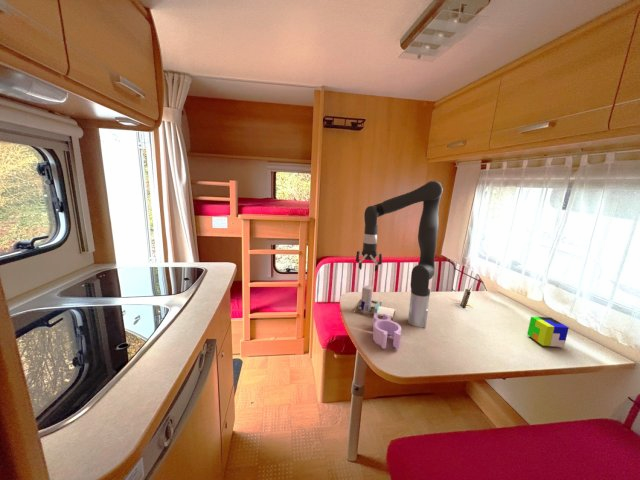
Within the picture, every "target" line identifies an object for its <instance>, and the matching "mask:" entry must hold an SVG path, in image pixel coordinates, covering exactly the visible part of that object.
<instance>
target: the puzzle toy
mask: <svg viewBox="0 0 640 480" xmlns="http://www.w3.org/2000/svg"><path fill="white" fill-rule="evenodd" d="M528 325H529V326H528V329H527V333H526V334H527V336H529V337H530V338H532V339H533V340H534V341H536V342H537V343H538V344H539V345H541V346H544V347H559V348H564V347H565V345H566V340H567V335H568V333H569V329H570V328H569V326H567V325H565V324H563V323H561V322H560V321H558V320H556V319H554V318H553V317H549V316H548V317H545V316H530V320H529V324H528Z"/></svg>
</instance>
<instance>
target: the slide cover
mask: <svg viewBox="0 0 640 480" xmlns="http://www.w3.org/2000/svg"><path fill="white" fill-rule="evenodd" d="M380 302H381V301H378V302H377V304H376V303H375V306H374V307H375V310H374V314H378V315H380V316H383V314H386V315H388V316H390V318H393V314H394V311H396V310H395V308H390V307H386V306H382V305H381V306H380Z"/></svg>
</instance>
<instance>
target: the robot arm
mask: <svg viewBox="0 0 640 480" xmlns="http://www.w3.org/2000/svg"><path fill="white" fill-rule="evenodd" d="M443 191H444V188H443V185H442V183H441V182H439V181H436V180H430V181H428V182H426V183H425V184H423V185H422V186H420V187H418V188H416V189H413V190H412V191H409V192H406V193H403V194H400V195H398V196H394V197H392V198H389V199H386V200H384V201H382V202H380V203H377V204H373V205H369V206H367V207H366V208H365V210H364V214H363V215H364V233H363V239H362V241H363V242H362V244H363V245H362V251H360V250H357V251H356V256H355V262H357V263H358V269H359V270H360V271H361V270H362V267H363V261H368V260H369V261H373V263H374V265H375V266H374V272H375V273H376V272H377V271H378V270H379V266H381V265H382V263H383V253H381V252H380V253H378V252H377V251H378V250H377V247H378V230H379V229H378V227H379V226H378V218H379V217H382V216H384V215H386V214H387V215H388V214H391V213H394V212H397V211H399V210H402V209H404V208H407V207H409V206H411V205H414V204H418V203H421V202H423V203H422V205H423V206H422V212H421V217H420V220H419V225H418V230H417V231H418V233H417V240H418V241H417V242H418V246H419V253H420V255H419V256H420V257H419V261H418V264H417V265H415V266H414V267H412V270H411V274H410V288H411V289H410V291H411V292H410V298H409V306H408V307H409V308H408V315H407V323H408V324H409V325H411V326H412V327H417V328H426V326H427V321H428V320H427V319H428V314H429V313H428V312H429V310H428V309H429V302H430V296H431V295H430V294H431V289H430V288H429V285H430V280H431V279H432V278H433V277H434V275H435V256H436V250H437V243H438V241H437V240H438V235H439V222H440V221H439V206H440V202H441V197H442V194H443ZM361 255H362V258H361V259H360V256H361ZM377 258H378V260H377Z"/></svg>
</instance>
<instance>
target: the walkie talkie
mask: <svg viewBox="0 0 640 480" xmlns="http://www.w3.org/2000/svg"><path fill="white" fill-rule="evenodd" d="M474 284H475V283H474V282H472V284H471V287H469V288H465V290H464V292H463V297H462V300H461V301H460V300H458V299H454V298H452V301H453V300H454V301H458V302H461V303H460V304H461V305H460V306H461V308H463V309H466V307H467V306H469V307H470V308H474V307H473V306H472V305H470V303H469V299H470V296H471V290H472V288H473V285H474ZM449 300H451V298H449Z"/></svg>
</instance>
